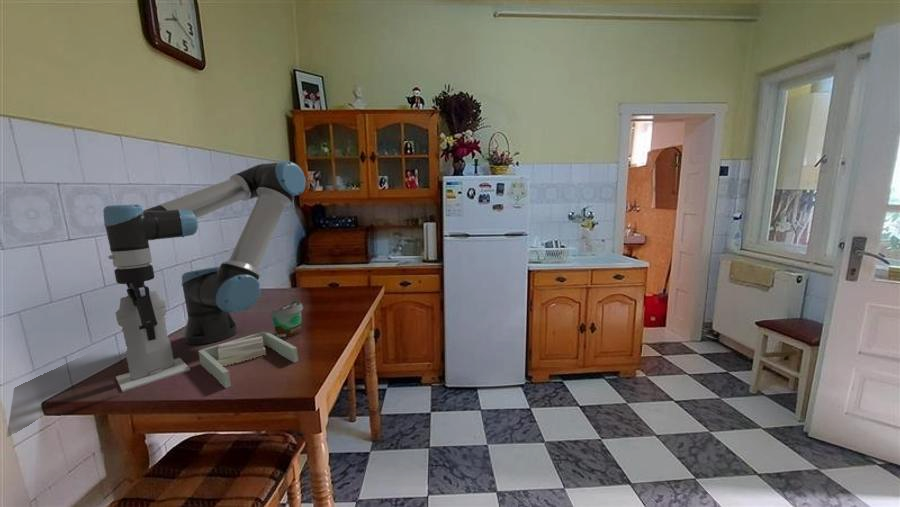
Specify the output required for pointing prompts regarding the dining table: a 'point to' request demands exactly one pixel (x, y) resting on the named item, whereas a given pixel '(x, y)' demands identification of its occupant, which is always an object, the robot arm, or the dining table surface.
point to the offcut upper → (240, 347)
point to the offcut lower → (240, 357)
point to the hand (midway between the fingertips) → (148, 345)
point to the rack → (270, 340)
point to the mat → (151, 376)
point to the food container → (288, 320)
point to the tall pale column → (136, 350)
